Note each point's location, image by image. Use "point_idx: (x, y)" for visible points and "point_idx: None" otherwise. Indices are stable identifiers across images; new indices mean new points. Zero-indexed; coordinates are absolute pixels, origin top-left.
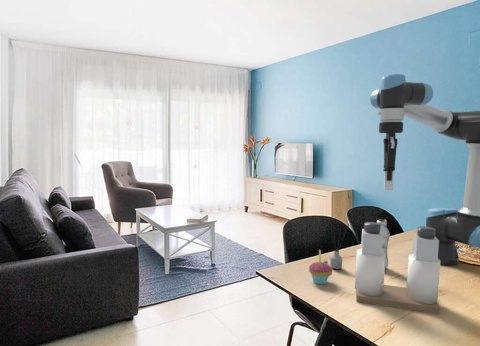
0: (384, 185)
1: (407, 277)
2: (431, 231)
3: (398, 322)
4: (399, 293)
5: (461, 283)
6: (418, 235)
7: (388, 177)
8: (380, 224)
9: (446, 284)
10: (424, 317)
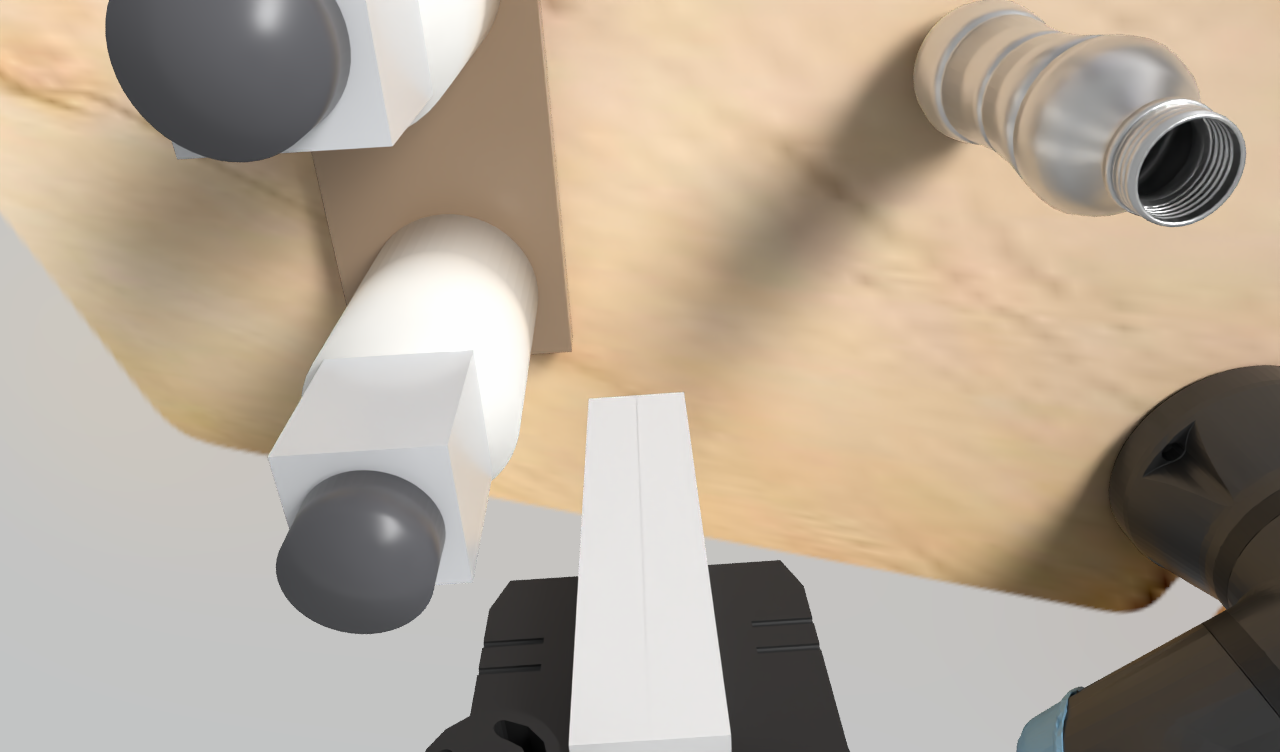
0: (589, 451)
1: (418, 256)
2: (293, 596)
3: (140, 139)
4: (443, 177)
5: (828, 507)
6: (331, 478)
7: (484, 670)
8: (244, 158)
9: (788, 438)
10: (285, 274)
